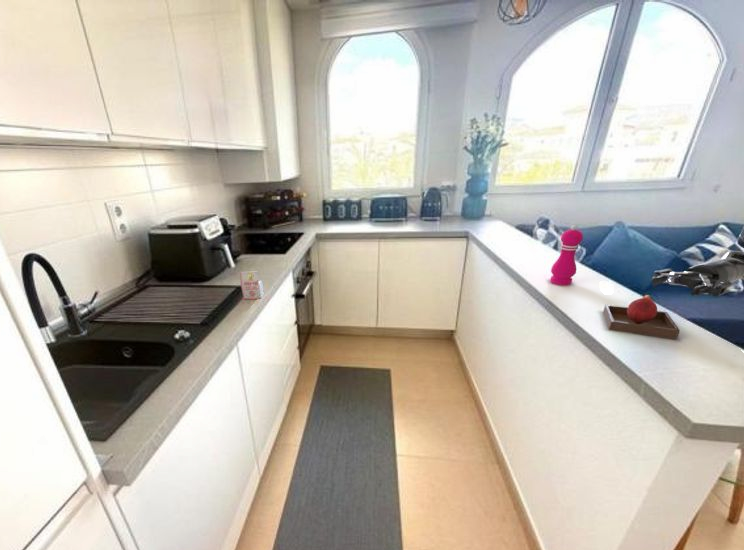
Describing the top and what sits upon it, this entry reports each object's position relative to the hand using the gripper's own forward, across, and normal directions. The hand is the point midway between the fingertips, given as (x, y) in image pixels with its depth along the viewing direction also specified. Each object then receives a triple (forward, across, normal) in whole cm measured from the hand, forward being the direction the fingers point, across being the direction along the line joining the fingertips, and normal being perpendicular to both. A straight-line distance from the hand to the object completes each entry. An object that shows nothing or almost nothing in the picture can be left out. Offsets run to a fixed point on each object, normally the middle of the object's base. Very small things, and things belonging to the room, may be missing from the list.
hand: (673, 286), depth 90 cm
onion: (+10, 0, +9) cm, 13 cm away
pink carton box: (+100, -73, +9) cm, 124 cm away
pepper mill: (-1, -30, +9) cm, 32 cm away
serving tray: (+10, 0, +9) cm, 13 cm away
